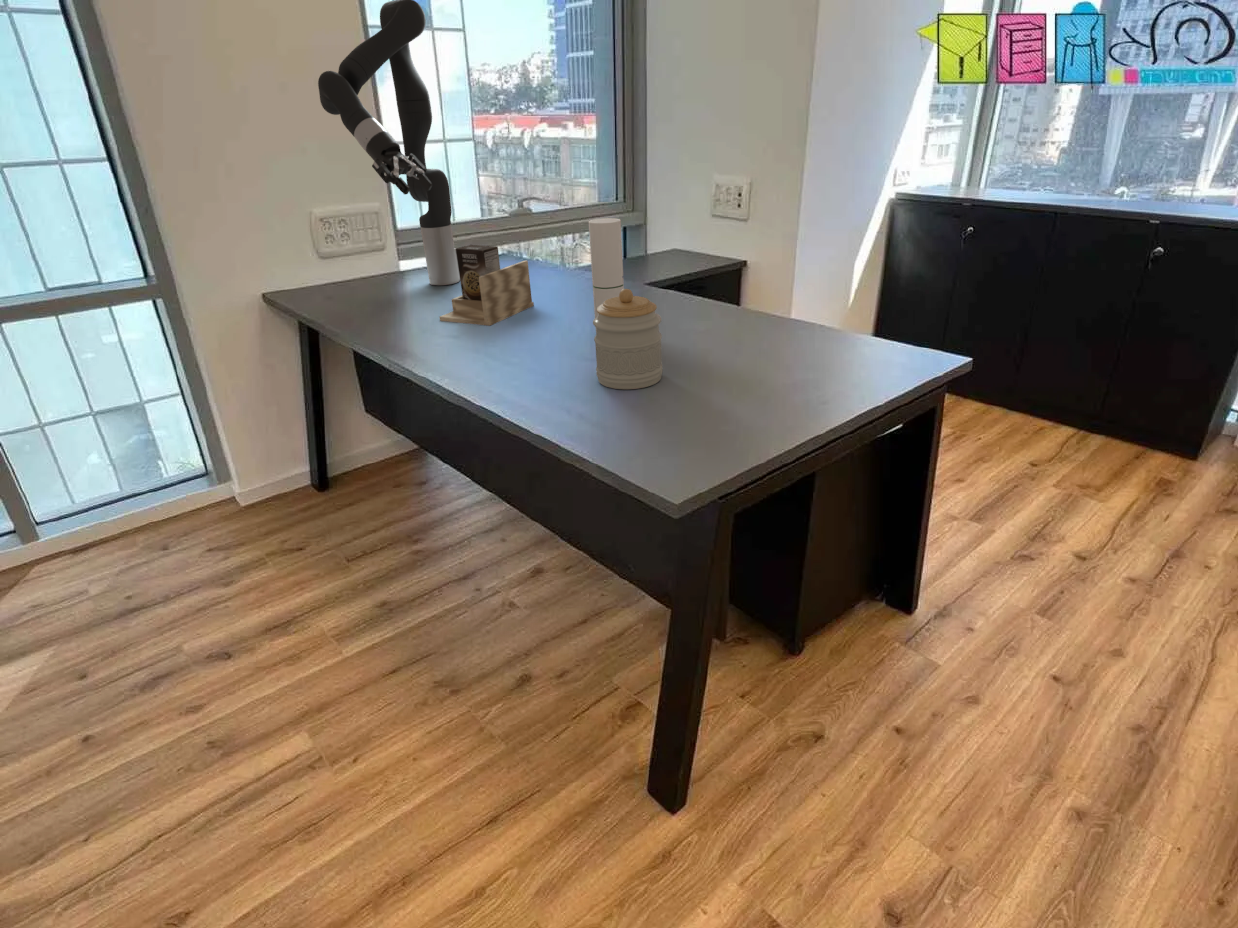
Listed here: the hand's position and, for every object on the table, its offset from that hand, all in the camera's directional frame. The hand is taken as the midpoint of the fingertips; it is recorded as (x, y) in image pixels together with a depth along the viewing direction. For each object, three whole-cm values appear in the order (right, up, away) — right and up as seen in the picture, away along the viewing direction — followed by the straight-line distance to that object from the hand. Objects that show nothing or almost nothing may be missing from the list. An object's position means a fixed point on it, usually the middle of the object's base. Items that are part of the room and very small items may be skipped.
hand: (419, 190), depth 185 cm
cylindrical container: (+49, -38, -13) cm, 64 cm away
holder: (+16, -30, +7) cm, 35 cm away
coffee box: (+16, -29, +6) cm, 34 cm away
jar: (+53, -54, -43) cm, 87 cm away
